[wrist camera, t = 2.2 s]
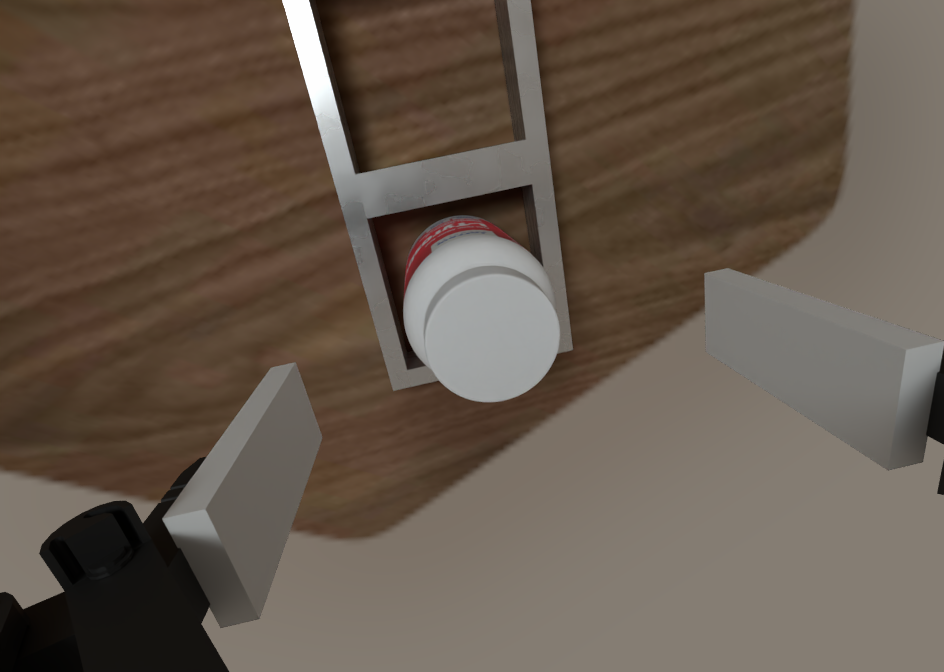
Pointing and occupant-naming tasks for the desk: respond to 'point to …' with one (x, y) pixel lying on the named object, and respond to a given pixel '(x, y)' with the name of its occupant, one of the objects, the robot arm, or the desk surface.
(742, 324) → the robot arm
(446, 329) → the pill bottle
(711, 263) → the desk surface
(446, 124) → the desk surface
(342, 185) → the socket rail
